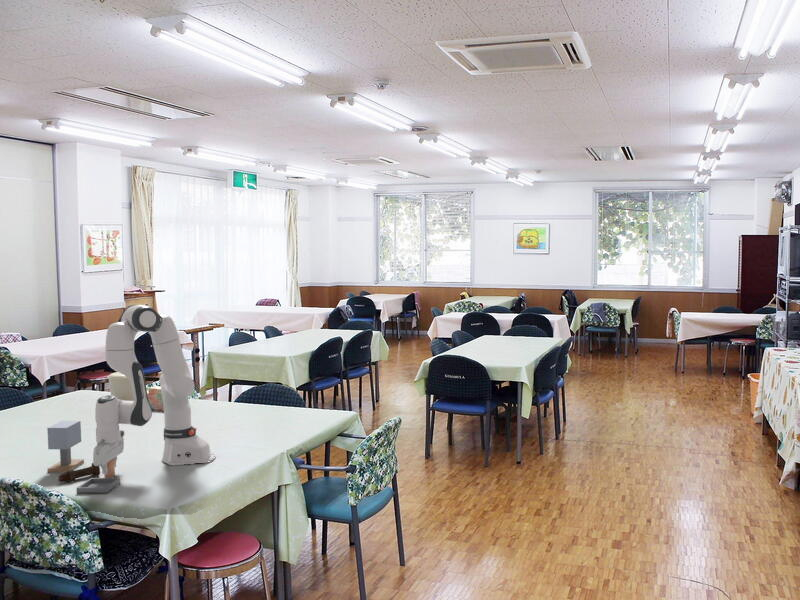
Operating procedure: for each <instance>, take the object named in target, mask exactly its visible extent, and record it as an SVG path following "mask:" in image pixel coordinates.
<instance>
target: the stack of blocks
mask: <svg viewBox="0 0 800 600" xmlns="http://www.w3.org/2000/svg"><path fill="white" fill-rule="evenodd" d="M147 395H148V400H149V403H150V406H151V409H152V410H157V411H164V406H163V401H162V394H161V386H159V385H155V386H151V387H148V390H147Z"/></svg>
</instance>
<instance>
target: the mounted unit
mask: <svg viewBox="0 0 800 600" xmlns="http://www.w3.org/2000/svg"><path fill="white" fill-rule="evenodd" d="M81 424H82V423H81V420H61V421H58V422H57V423H55V424H53V425H50V426H49V427H46V429H47V445H48V446H47V447H48V450H59V457H60V461H58V462H56V463H55V464H53V465H51V466H50V467H48V468H46V469H47V473H67V471H68V470H73V469H74V468H75V469H77V468H78V467H80V466H81V465H83V464H84V463H85V460H84V459H78V458H77V459H72V453H71V452H72V450H71V449H72V447H74V446H76V445H78V444H79V443H81V442H82V429H81V428H82V425H81ZM82 463H83V464H82ZM79 465H80V466H79ZM76 467H77V468H76ZM75 469H74V470H75Z"/></svg>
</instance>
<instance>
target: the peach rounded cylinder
mask: <svg viewBox="0 0 800 600" xmlns="http://www.w3.org/2000/svg"><path fill="white" fill-rule="evenodd" d="M106 466H107V468H108V473H106V474H103V475H104V477H105V478H112V477H114V476H115V477H116V467H115V461H114V459H112V460H110V461H109V462H107V465H106ZM104 477H103V478H104ZM115 477H114V478H115Z"/></svg>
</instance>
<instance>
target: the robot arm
mask: <svg viewBox="0 0 800 600" xmlns="http://www.w3.org/2000/svg"><path fill="white" fill-rule="evenodd" d="M138 332H144V333H148V334H149V335H150V338H151V342H152V346H153V350H154V354H155V358H156V362H157V364H158V366H159V369H160V370H161V374H160V376H159V381H158V382H159V384H160V386H159V387H161V394H162V401H163V406H164V410H163V414H164V415H163V416H164V417H163V419H164V428H163V440H164V446H163V447H164V449H163V454H162V458H161V462H162V463H165V464H168V466H171V465H172V466H185V465H184V464H191V465H195V464H194V463H206V462H208V461H211V460H212V459H213V458H214V457H215V455H216V453H215V452H211V448H210V444H209V442H208V441H206V440H205V439H203V438H201V437H200V436H198V435H197V430H198V429H197V427H196V426H195V427H194V426H193V425H192V409H191V405H190V401H189V397H190V396H192V394H193V392H194V391H195V387H196V386H195V381H194V380H193V377H192V374H191V370H190V368H189V366H188V363H187V360H186V358H185V355H184V352H183V348H182V343H181V341H180V336H179V333H178V330H177V327H176V324H175V322H174V320H173V318H172V317H171V316H170V315H167V314H159V313H158V312H157V311H156V310H155V308H153V307H152V306H149V305H144V304H132V305H129V306H127V307H126V308H125V309H124V310H123V311H122V313H121V315H120V317H119V319H118V321H117V322H114V323H111V324H110V325H109V326H108V327H107V331H106V336H105V360H106V363H107V365H108V366H109V368H111V369H112V370H113V371H115V372H119V373H121V374H123V375H125V376H126V377H127V378H128V379H129V380H130V382H131V385H132V391H133V397H134V401H126V400H120V399H117V398H116V396H113V395H111V394H109V395H103V396H101V397H99V398H97V400H96V404H95V410H94V415H95V416H94V418H95V423H96V427H95V441H96V445H95V447H94V449H93V455H92V457H93V458H92V459H93V460H92V463H93V464H94V466H99V467H100V468H101V470H102V471H101V473H102V474H103V475H104V474H106V473H108V468H107V466H106V465H107V462H109V461H110V460H112V459H114V461H115V468H116V467H117V460H118V456H119V455H120V454H122V453H123V452H124V447H125V444H124V443H125V442H124V440H125V439H124V436H125V430H120V424H121V425H132V426H135V427H143V426H145V425H146V424H147V423H148V422H149V421H150V420H151V418H152V416H153V415H152V414H153V412H152V411H153V409H151V406H150V403H149V400H148V395H147V391H148V390H147V384H146V383H147V382H146V378H145V373H144V368H143V365H142V364H141V362H139V361H138V359H137V356H136V353H135V338H136V335H137V334H138ZM215 458H216V457H215ZM212 461H213V460H212ZM212 461H211V462H212ZM206 464H207V463H206Z"/></svg>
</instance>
